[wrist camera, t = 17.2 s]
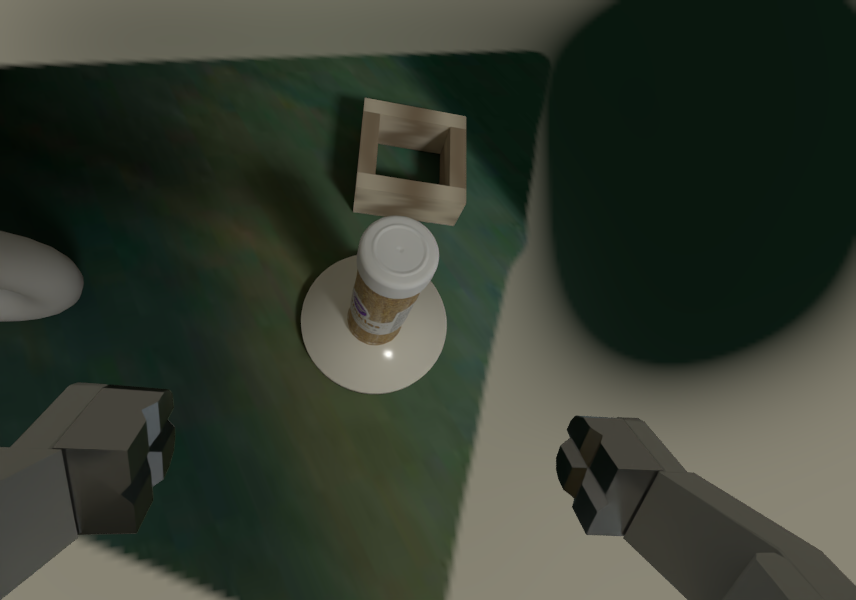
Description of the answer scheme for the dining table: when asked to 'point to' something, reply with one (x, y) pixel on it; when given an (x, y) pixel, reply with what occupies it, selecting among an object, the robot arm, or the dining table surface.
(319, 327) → the white domed disc
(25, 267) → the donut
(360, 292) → the sprinkles bottle
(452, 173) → the holder collar
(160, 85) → the dining table surface
